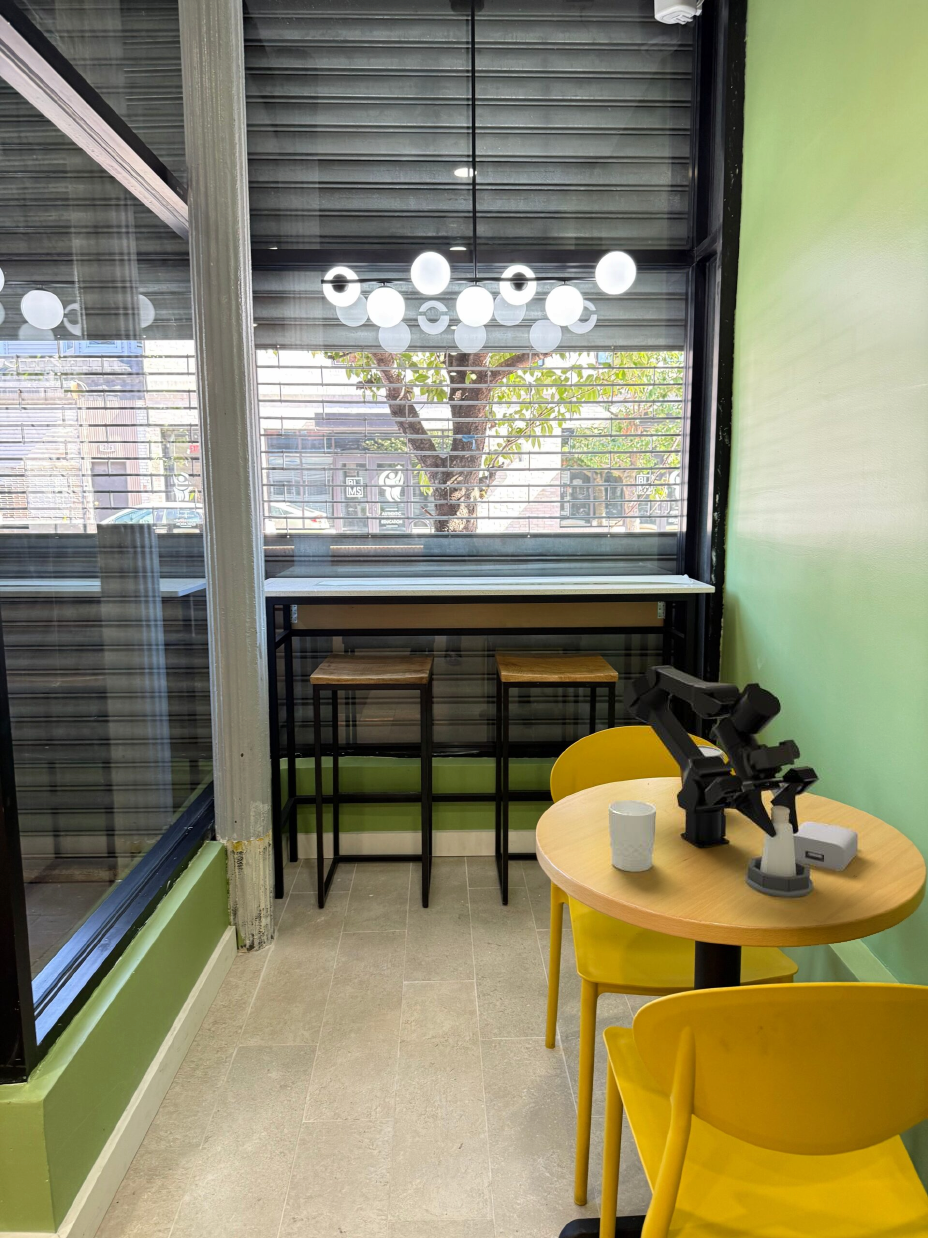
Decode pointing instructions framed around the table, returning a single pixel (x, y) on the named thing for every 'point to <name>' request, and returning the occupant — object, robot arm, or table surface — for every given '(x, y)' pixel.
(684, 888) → the table surface
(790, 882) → the grey octagonal tray
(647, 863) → the white cup
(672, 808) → the table surface
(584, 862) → the table surface
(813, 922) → the table surface
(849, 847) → the charger
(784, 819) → the pepper shaker
